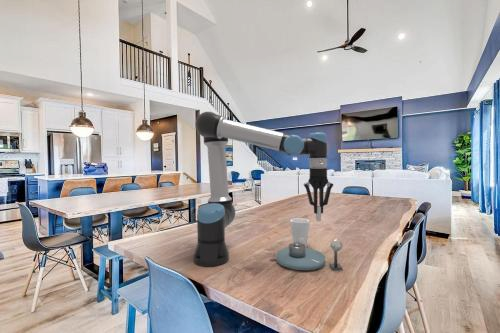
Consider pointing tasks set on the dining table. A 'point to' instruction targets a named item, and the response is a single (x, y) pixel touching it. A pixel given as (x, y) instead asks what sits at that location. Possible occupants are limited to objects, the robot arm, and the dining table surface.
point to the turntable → (301, 259)
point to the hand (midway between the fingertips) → (318, 220)
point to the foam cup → (299, 229)
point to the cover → (297, 250)
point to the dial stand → (336, 246)
